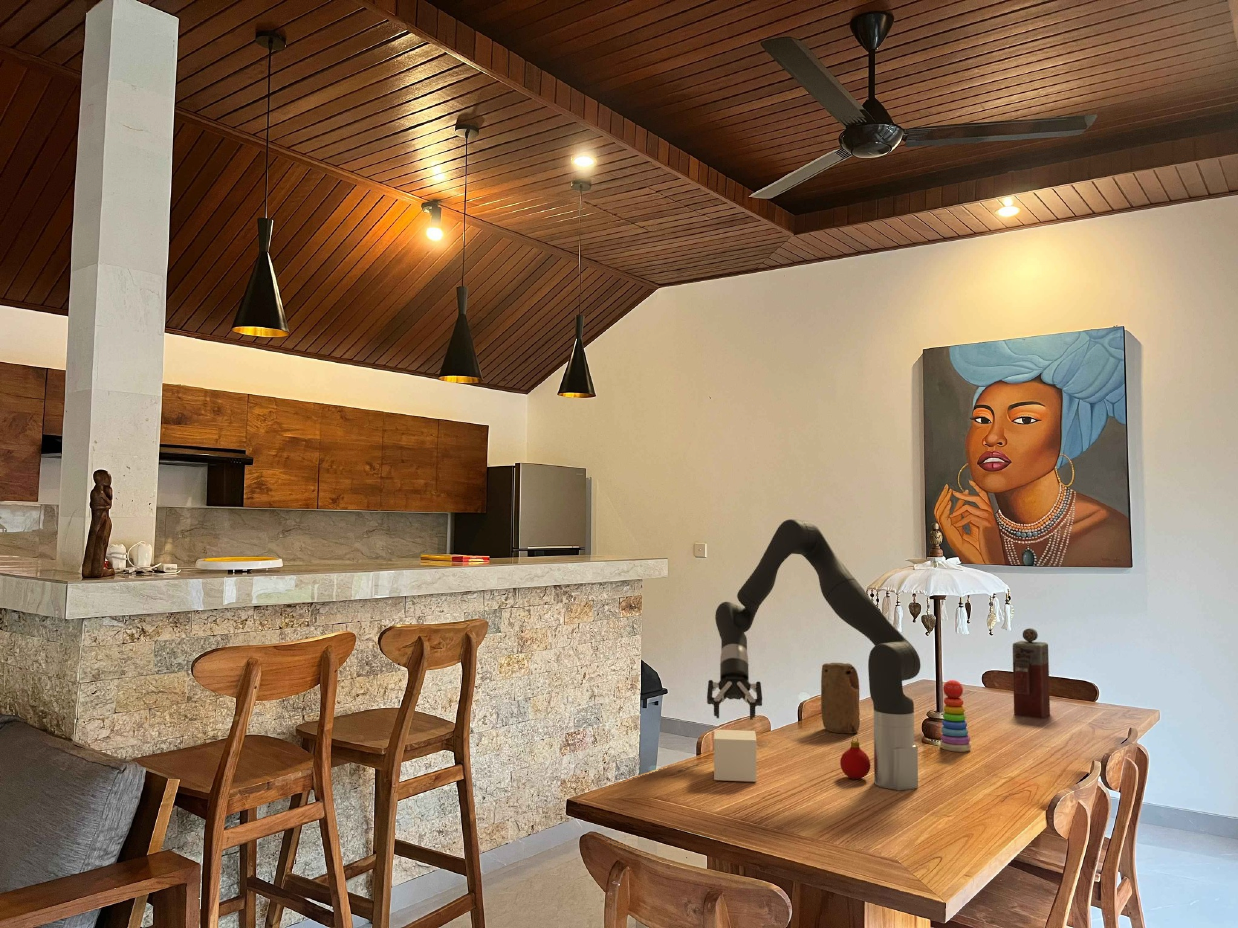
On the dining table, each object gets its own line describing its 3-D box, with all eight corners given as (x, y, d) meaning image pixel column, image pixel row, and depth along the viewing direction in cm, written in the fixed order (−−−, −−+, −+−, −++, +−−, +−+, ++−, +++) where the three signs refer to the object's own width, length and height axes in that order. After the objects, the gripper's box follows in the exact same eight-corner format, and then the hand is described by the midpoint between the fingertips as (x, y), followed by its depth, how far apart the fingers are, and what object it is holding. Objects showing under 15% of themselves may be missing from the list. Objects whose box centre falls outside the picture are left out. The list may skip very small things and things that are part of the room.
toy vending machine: (1011, 715, 291) (1009, 628, 293) (1021, 710, 300) (1019, 626, 302) (1041, 719, 285) (1038, 631, 287) (1050, 714, 294) (1048, 628, 296)
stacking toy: (946, 744, 252) (944, 676, 253) (975, 748, 247) (973, 679, 248) (935, 749, 246) (934, 680, 247) (965, 754, 241) (964, 683, 242)
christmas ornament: (849, 783, 212) (849, 740, 213) (834, 775, 219) (834, 733, 219) (876, 781, 214) (875, 738, 215) (860, 773, 221) (860, 732, 221)
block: (819, 730, 267) (818, 663, 269) (829, 726, 273) (828, 660, 275) (854, 735, 261) (853, 666, 262) (863, 731, 267) (862, 663, 268)
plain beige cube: (714, 770, 223) (714, 729, 223) (755, 771, 221) (755, 730, 222) (714, 781, 213) (714, 738, 213) (756, 783, 211) (756, 740, 212)
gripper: (707, 655, 239) (706, 707, 227) (761, 657, 238) (763, 709, 225) (707, 672, 244) (706, 724, 232) (760, 674, 242) (762, 726, 230)
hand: (734, 717), depth 229 cm, fingers open, 8 cm apart
